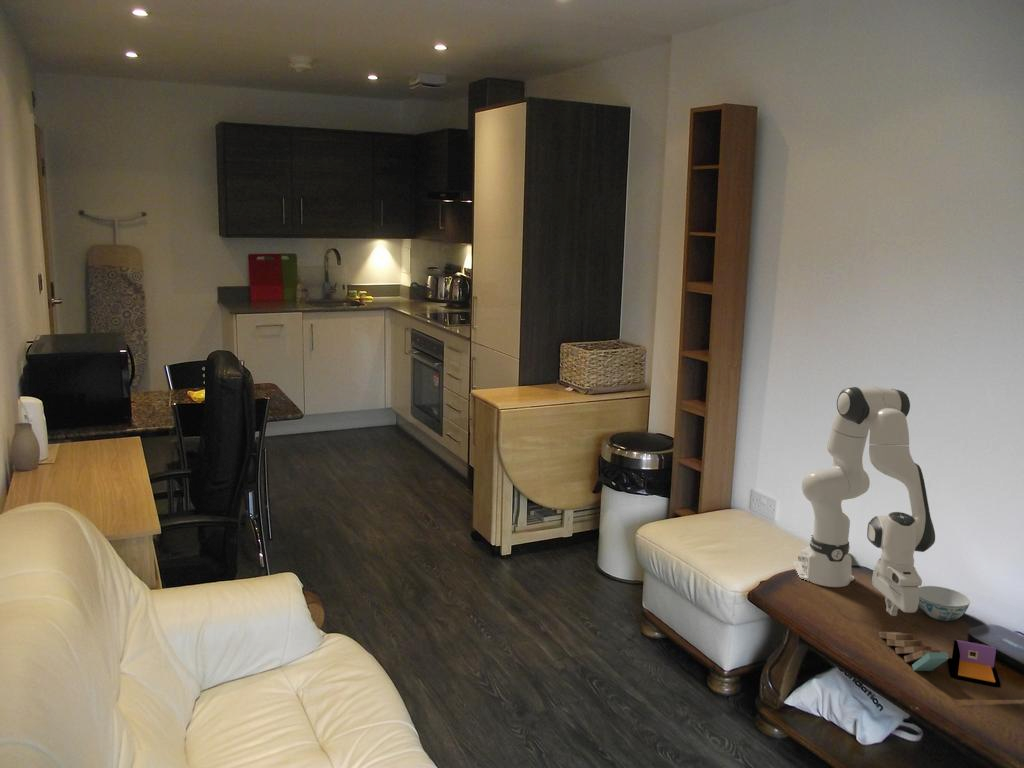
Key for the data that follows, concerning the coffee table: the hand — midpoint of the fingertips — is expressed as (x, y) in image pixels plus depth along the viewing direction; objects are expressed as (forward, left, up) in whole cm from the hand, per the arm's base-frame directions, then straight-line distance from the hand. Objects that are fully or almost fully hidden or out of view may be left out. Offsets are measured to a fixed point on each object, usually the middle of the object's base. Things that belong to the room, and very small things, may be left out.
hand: (891, 613), depth 243 cm
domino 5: (+18, 0, -7) cm, 20 cm away
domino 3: (+9, 0, -7) cm, 11 cm away
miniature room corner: (+20, +13, -8) cm, 25 cm away
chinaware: (-13, +23, -8) cm, 27 cm away
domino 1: (-1, 0, -7) cm, 7 cm away
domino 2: (+4, 0, -7) cm, 8 cm away
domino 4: (+14, 0, -7) cm, 15 cm away
